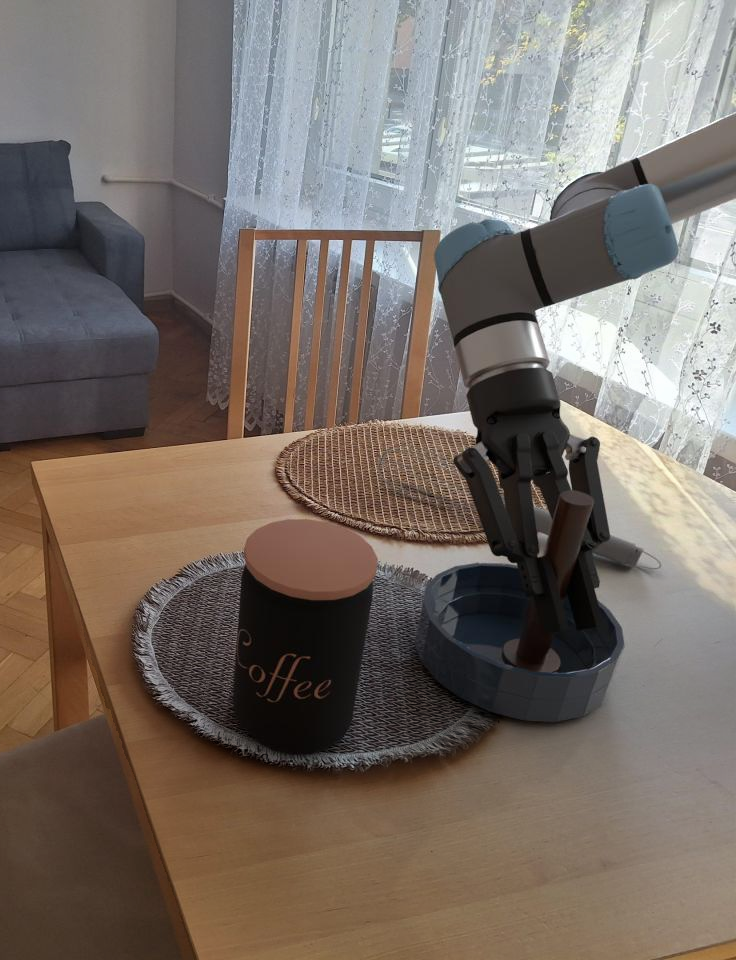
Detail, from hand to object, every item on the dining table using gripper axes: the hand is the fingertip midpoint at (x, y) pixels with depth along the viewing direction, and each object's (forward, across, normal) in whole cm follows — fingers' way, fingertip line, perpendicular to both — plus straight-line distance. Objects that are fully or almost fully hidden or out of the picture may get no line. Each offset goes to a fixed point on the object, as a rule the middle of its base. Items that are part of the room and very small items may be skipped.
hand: (573, 629), depth 74 cm
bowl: (+2, +1, -11) cm, 11 cm away
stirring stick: (+2, 0, -8) cm, 8 cm away
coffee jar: (+5, +24, -8) cm, 25 cm away
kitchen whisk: (-15, -13, -28) cm, 34 cm away
